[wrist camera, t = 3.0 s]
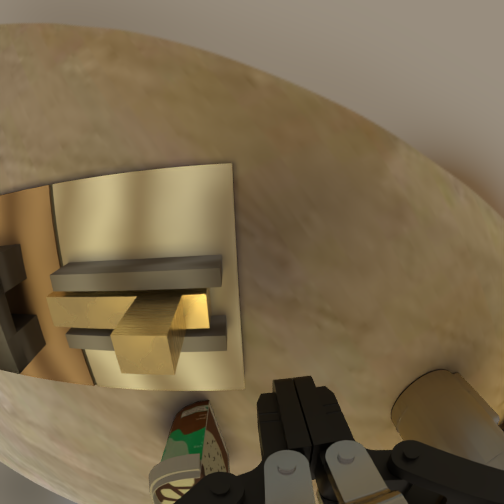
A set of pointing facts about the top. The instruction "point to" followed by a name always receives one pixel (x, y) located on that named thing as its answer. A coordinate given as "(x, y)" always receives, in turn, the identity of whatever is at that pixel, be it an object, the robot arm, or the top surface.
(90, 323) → the wooden t-shaped block
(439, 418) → the robot arm
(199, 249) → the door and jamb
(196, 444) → the food container
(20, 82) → the top surface
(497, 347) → the top surface
